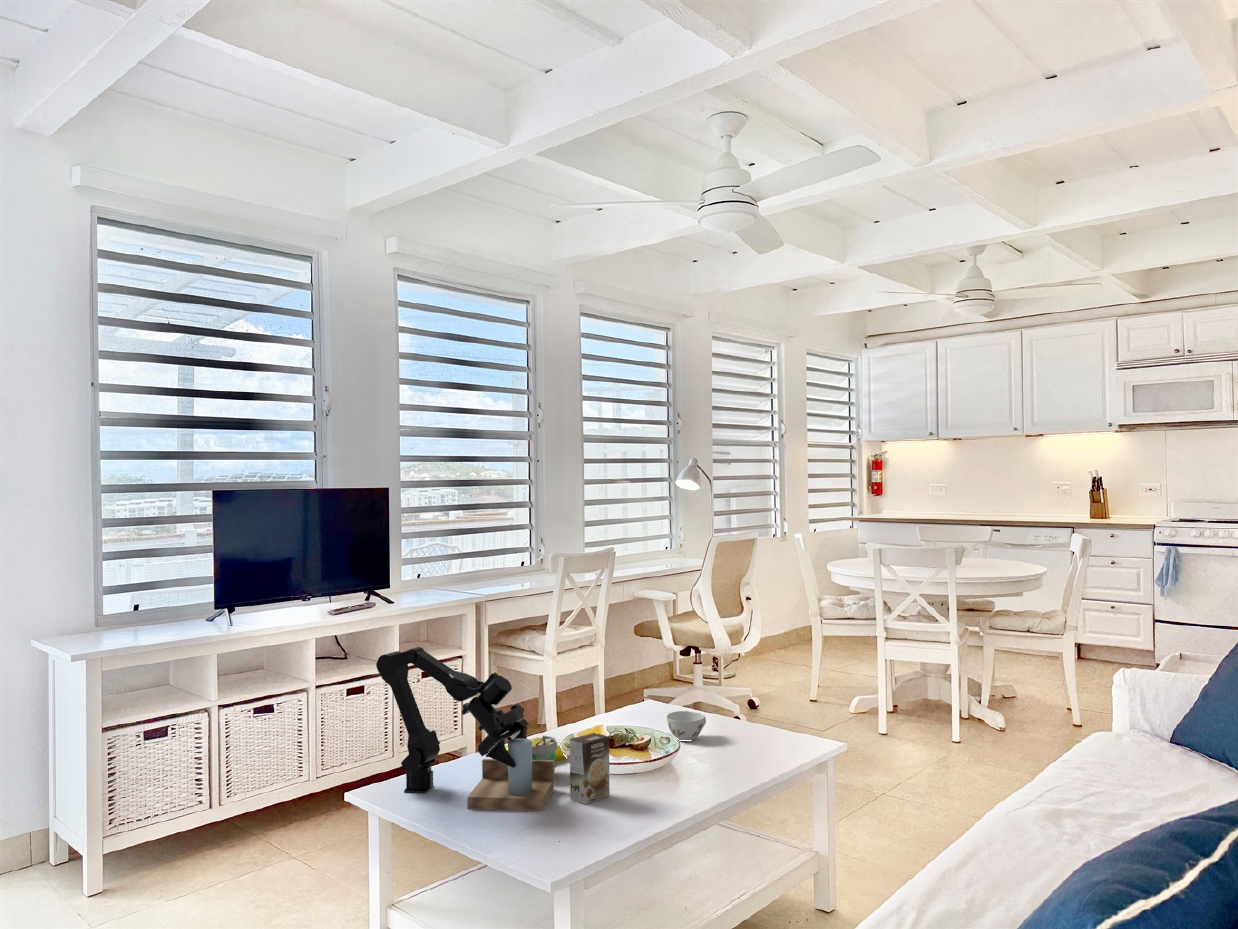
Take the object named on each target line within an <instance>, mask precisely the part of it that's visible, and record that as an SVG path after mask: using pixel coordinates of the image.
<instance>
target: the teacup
mask: <svg viewBox="0 0 1238 929" xmlns="http://www.w3.org/2000/svg"><path fill="white" fill-rule="evenodd" d="M666 721H667V725H668V730H669V731H670V732H671V734H672V735H673V736H675V737H677V738H678V739H679V740H693V739H694V740H696V739H697V737H698V736H699V735H700V734H701V732H702V730H703V728H704V726H706V723H707V719H706V716H705V715H704V714H702V713H701V712H694V711H689V710H685V711H684V710H679V711H673V712H669V713H668V714H667V715H666ZM675 737H674V738H675ZM694 740H693V741H694Z"/></svg>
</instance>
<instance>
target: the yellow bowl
mask: <svg viewBox="0 0 1238 929" xmlns="http://www.w3.org/2000/svg"><path fill="white" fill-rule="evenodd" d="M530 740H532V747H535V746H536V744H537V743H538V742H540V741H541V740H542V737H535V738H531V739H530ZM561 744H562V742H561V743H560V742H558V741H557V745H558V749H557V750H556V752H555V764H556V763H559V762H562V761H566V760H567V759H566V757H565V756H564V755H563V753H562V751H561V748H560V745H561ZM505 748H506V749H507V751H508V745H505Z"/></svg>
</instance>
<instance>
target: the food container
mask: <svg viewBox="0 0 1238 929" xmlns="http://www.w3.org/2000/svg"><path fill="white" fill-rule="evenodd" d="M541 738H542V740H541V741H540V742H538V743H537V744H536V746H535V747H532V753H533V756H532V760H554V771H555V768H556V763H555V752H556V750H557V749H558V745H557V742H558V741H557V739H556V738H555V737H553V736H550V735H549V736H547V735H542V736H541Z"/></svg>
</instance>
